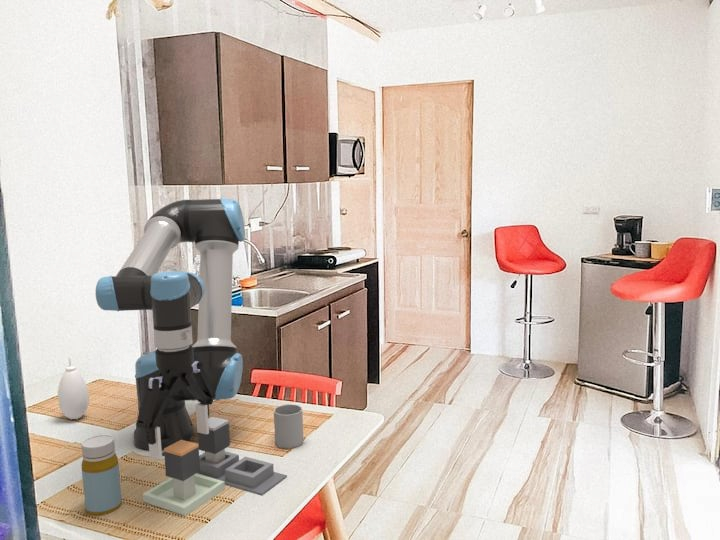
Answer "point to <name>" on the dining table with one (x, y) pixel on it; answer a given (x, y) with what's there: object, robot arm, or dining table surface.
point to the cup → (288, 426)
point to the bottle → (100, 475)
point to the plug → (182, 467)
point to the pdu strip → (233, 462)
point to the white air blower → (73, 393)
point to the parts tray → (166, 500)
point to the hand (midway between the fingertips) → (180, 444)
